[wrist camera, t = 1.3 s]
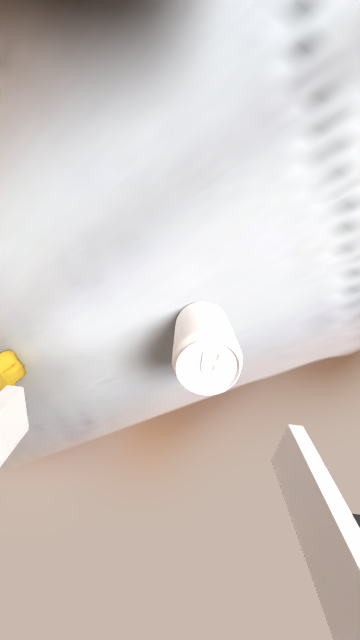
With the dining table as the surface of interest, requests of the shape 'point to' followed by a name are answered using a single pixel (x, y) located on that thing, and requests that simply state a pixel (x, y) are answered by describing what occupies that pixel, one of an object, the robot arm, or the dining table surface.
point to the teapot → (10, 369)
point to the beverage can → (205, 350)
